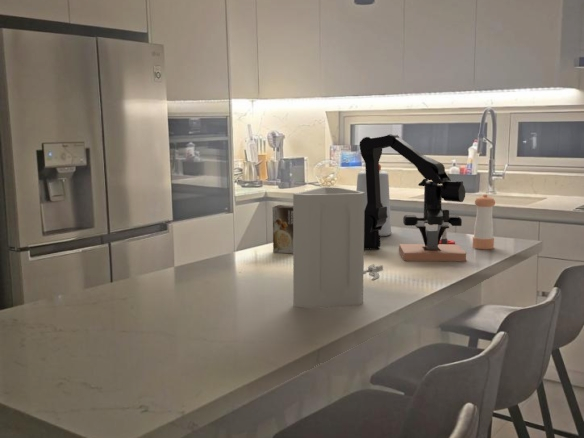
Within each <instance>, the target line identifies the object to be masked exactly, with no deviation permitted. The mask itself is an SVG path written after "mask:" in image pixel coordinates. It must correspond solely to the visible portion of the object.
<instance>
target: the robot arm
mask: <svg viewBox="0 0 584 438" xmlns="http://www.w3.org/2000/svg"><path fill="white" fill-rule="evenodd" d="M389 147H390V148H391V149H393V150H394V151H395V152H397V153H398V155H401V157H403V158H404V159H406V160H407V161H409V162H410V163H411V164H412V165H414V167H416V169H417V171H418V173H419V174H421V175H422V177H423V179H422V180H421V182H419V183H418V186H419V187H424V188H423V190H424V195H423V217H418V216H416V215H414V214H413V215H412V214H405V215H404V216H403V219H402V221H403V225H404V226H406V227H407V226H408V227H409V226H411V227H412V226H415V227H416V229H418V230H419V231H420V234H421V237H422V240H423V241H422V242H423V244H425V246H426V243H427V240H426V229H427V226H426V225H425V224H428V225H429V226H433V225H436V226H437V227H436V229H437V230H438V244H439V242H440V240H441V238H442V234H443V232H444V231H445V230H446V231H447V229H450V225H451V226H452V227H461V226H462V225H463V224H462V221H463V220H462V218H461V216H459V215H454V214H453V215H451V214H450V211H449V209H442V201H443V200H444V201H445V202H453V203H455V202H456V203H457V202H458V203H462V202H464V200H465V199H466V190H465V185H464V181H463V180H458V181H456V180H453V181H452V180H451V178H450V177H449V175H448V174H447V172H446V170H445V169H446V168H445V165H444V164H443V163H442V162H440V161H438V160H435V158H434V159H433V158H431V157H428V156H425V155H424V154H423V153H421V152H420V151H419V150H417V149H416V148H415V147H414V146H412V145H411V144H409V143H408V142H406V141H405V140H403V138H401V137H400V135H398V134H396V133H393V134H391V133H390V134H387V135H384V136H383V135H382V136H364V137H363V138H362V139H361V140H360V141H359V150H360V156H361V157H362V159H363V161H364V165H365V166H364V167H365V171H366V188H367V205H366V208H365V210H364V250H380V247H381V236H380V234H379V231H378V230H381V228H382V226H383V225H384V224H385V222H386V218H388V216H387V207H383V205H382V203H381V197H380V177H379V163H380V159H381V157H382V154H383V149H385V148H389ZM442 199H443V200H442Z"/></svg>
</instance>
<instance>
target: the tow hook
mask: <svg viewBox="0 0 584 438" xmlns="http://www.w3.org/2000/svg"><path fill="white" fill-rule="evenodd" d="M447 235H448V232H447V229H446V230H445V231H444V232H443V234H442V237H441V239H440V242H439V244H456V241H454V240H452V239H451V240H450V239H448V238H447Z"/></svg>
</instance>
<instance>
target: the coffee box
mask: <svg viewBox="0 0 584 438" xmlns="http://www.w3.org/2000/svg"><path fill="white" fill-rule="evenodd" d="M272 246H273V247H272V252H273V253H278V254H279V253H280V254H290V255H291V254H293V205H290V204H289V205H286V204H277V205H275V206H273V207H272Z"/></svg>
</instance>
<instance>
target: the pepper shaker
mask: <svg viewBox="0 0 584 438" xmlns="http://www.w3.org/2000/svg"><path fill="white" fill-rule="evenodd" d="M474 204H475V206H476V215H475V223H474V227H473V228H474V229H473V237H472V248H474V249H478V250H493V249H494V247H495V242H494V241H495V238H494V223H493V222H494V221H493V211H494V209H493V207H494V206H495V204H496V200H495V199H494V198H493V197H491V196H488V194H483V195H482V196H478V197H476V199H475V200H474Z"/></svg>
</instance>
